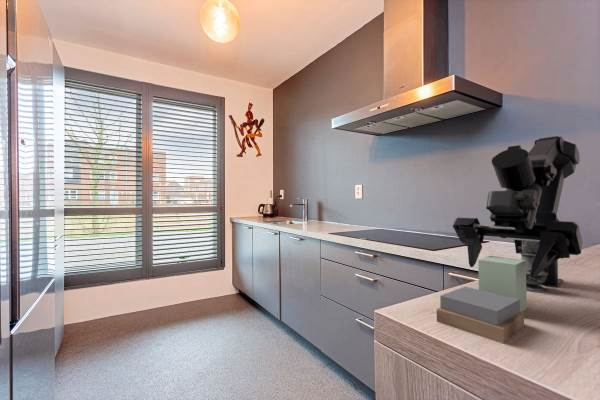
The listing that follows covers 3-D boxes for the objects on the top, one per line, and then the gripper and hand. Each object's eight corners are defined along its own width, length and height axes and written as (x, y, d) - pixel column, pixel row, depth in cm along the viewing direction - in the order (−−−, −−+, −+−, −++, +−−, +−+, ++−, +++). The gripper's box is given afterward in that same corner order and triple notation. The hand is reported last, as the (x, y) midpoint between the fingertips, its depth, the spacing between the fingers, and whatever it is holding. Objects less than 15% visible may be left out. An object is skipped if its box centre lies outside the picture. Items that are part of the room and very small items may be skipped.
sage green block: (490, 300, 54) (490, 255, 55) (526, 308, 50) (525, 260, 50) (479, 307, 51) (478, 259, 51) (516, 316, 47) (515, 264, 47)
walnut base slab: (461, 311, 51) (461, 296, 51) (524, 328, 44) (524, 312, 44) (436, 325, 45) (436, 309, 45) (503, 347, 38) (503, 329, 38)
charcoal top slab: (465, 298, 50) (465, 286, 50) (519, 312, 44) (519, 299, 44) (440, 308, 46) (440, 295, 46) (497, 325, 39) (497, 311, 39)
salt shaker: (554, 293, 58) (554, 234, 58) (520, 291, 59) (520, 233, 59) (539, 285, 63) (539, 231, 63) (508, 283, 65) (508, 230, 65)
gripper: (456, 179, 61) (430, 235, 54) (577, 171, 46) (562, 247, 39) (472, 215, 65) (450, 271, 59) (587, 218, 51) (575, 293, 44)
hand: (499, 270), depth 50 cm, fingers open, 9 cm apart
